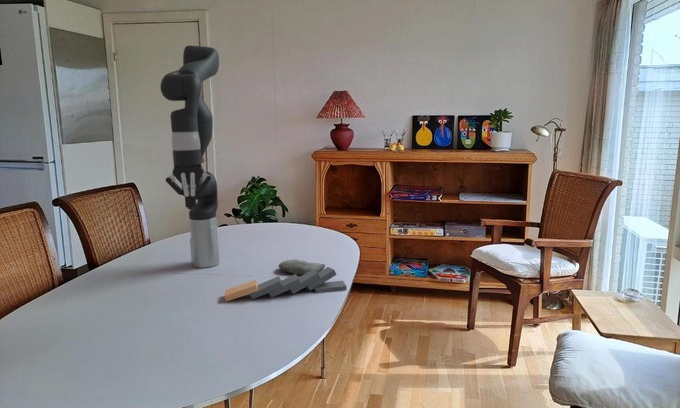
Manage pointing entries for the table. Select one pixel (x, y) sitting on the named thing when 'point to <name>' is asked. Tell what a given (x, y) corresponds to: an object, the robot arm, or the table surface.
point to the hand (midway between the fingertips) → (191, 208)
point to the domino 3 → (286, 285)
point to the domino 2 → (267, 287)
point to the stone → (300, 267)
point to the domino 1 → (241, 290)
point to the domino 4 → (306, 280)
